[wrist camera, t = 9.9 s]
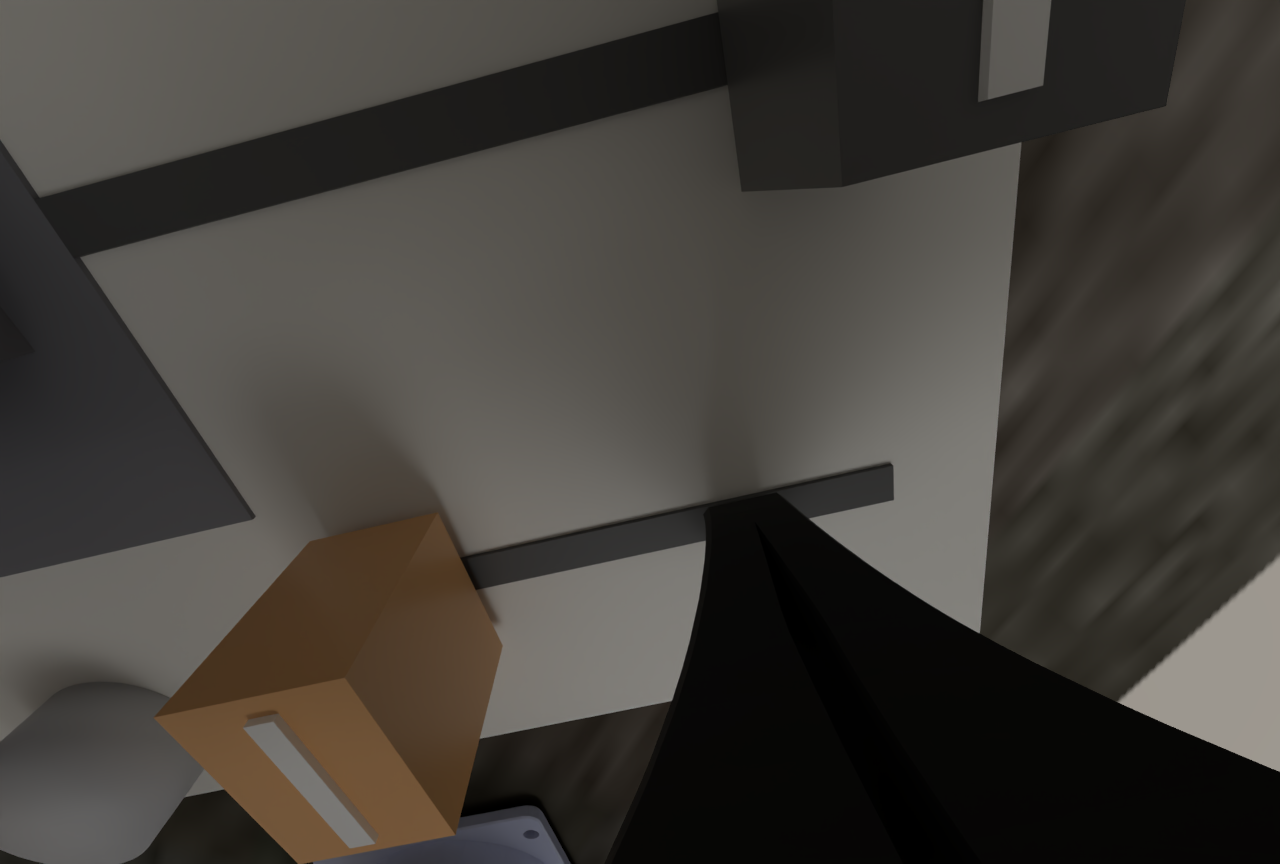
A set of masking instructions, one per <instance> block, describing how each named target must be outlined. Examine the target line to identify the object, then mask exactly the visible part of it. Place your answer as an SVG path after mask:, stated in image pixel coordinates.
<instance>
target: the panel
mask: <svg viewBox="0 0 1280 864" xmlns="http://www.w3.org/2000/svg"><path fill="white" fill-rule="evenodd" d="M1020 153H1021V142H1020V143H1016V144H1012V145H1008V146H1004V147H1000V148H996V149H992V150H988V151H984V152H980V153H976V154H972V155H968V156H964V157H960V158H956V159H952V160H948V161H944V162H940V163H937V164H933V165H929V166H925V167H921V168H917V169H913V170H909V171H905V172H901V173H897V174H893V175H889V176H885V177H881V178H877V179H873V180H869V181H865V182H861V183H857V184H853V185H849V186H845V187H836V188H814V189H791V190H769V191H747V192H742V191H741V184H740V176H739V168H738V160H737V153H736V145H735V137H734V130H733V122H732V114H731V106H730V99H729V91H728V83H727V75H726V68H725V60H724V52H723V45H722V37H721V29H720V21H719V14H718V6H717V0H0V850H2V851H5V852H7V853H10V854H13V855H15V856H18V857H21V858H25V859H28V860H32V861H36V862H40V863H45V864H121V863H124V862H127V861H130V860H132V859H134V858H136V857H138V856H139V855H141V854H142V853H143V852H144V851H145V850H146V849H147V848H148V847H149V846H150V844H151V843H152V841H153V840H154V839H155V837H156V836H157V834H158V833H159V832H160V830H161V829H162V828H163V826H164V825H165V823H166V822H167V821H168V819H169V818H170V816H171V815H172V814H173V812H174V811H175V809H176V808H177V807H178V805H179V804H180V802H181V801H182V800H183V798H184V797H188V796H193V795H198V794H203V793H208V792H213V791H218V790H223V789H224V788H223V787H222V786H221V785H220V784H219V783H218V782H217V781H216V780H215V779H214V778H213V777H212V776H211V775H210V774H209V773H208V772H207V771H206V770H205V769H204V768H203V767H202V766H201V765H200V764H199V763H198V762H197V761H196V760H195V759H194V758H193V757H192V756H191V755H190V754H189V753H188V752H187V751H186V750H185V749H184V748H183V747H182V746H181V745H180V744H179V743H178V742H177V741H176V740H175V739H174V738H173V737H172V736H171V735H170V734H169V733H168V732H167V731H166V730H165V729H164V728H163V727H162V726H161V725H160V724H159V723H158V722H157V721H156V720H155V719H154V718H153V717H154V716H155V715H156V714H157V713H158V712H159V711H160V710H161V708H162V707H163V706H164V705H165V704H166V703H167V702H168V701H169V699H170V698H171V697H172V696H173V695H174V694H175V693H176V692H177V690H178V689H179V688H180V687H181V686H182V685H183V684H184V682H185V681H186V680H187V679H188V678H189V677H190V676H191V675H192V673H193V672H194V671H195V670H196V669H197V668H198V667H199V666H200V664H201V663H202V662H203V661H204V660H205V659H206V658H207V657H208V655H209V654H210V653H211V652H212V651H213V650H214V649H215V648H216V646H217V645H218V644H219V643H220V642H221V641H222V640H223V639H224V637H225V636H226V635H227V634H228V633H229V632H230V631H231V630H232V628H233V627H234V626H235V625H236V624H237V623H238V622H239V620H240V619H241V618H242V617H243V616H244V615H245V614H246V613H247V611H248V610H249V609H250V608H251V607H252V606H253V605H254V604H255V602H256V601H257V600H258V599H259V598H260V597H261V596H262V595H263V593H264V592H265V591H266V590H267V589H268V588H269V587H270V586H271V584H272V583H273V582H274V581H275V580H276V579H277V578H278V577H279V575H280V574H281V573H282V572H283V571H284V570H285V569H286V568H287V566H288V565H289V564H290V563H291V562H292V561H293V560H294V559H295V557H296V556H297V555H298V554H299V553H300V552H301V551H302V549H303V548H304V547H305V546H306V545H307V544H308V543H309V542H310V541H313V540H317V539H322V538H326V537H330V536H335V535H339V534H344V533H348V532H353V531H357V530H362V529H366V528H370V527H375V526H379V525H384V524H388V523H393V522H397V521H401V520H406V519H410V518H415V517H419V516H424V515H428V514H433V513H437V512H438V514H439V516H440V518H441V520H442V522H443V524H444V526H445V528H446V530H447V532H448V534H449V536H450V538H451V540H452V542H453V545H454V547H455V549H456V551H457V553H458V555H459V557H460V559H461V561H462V563H463V565H464V567H465V569H466V571H467V573H468V575H469V577H470V579H471V581H472V584H473V586H474V588H475V590H476V592H477V594H478V596H479V598H480V600H481V602H482V604H483V606H484V608H485V610H486V612H487V614H488V616H489V618H490V620H491V623H492V625H493V627H494V629H495V631H496V633H497V635H498V637H499V639H500V641H501V643H502V645H503V647H502V651H501V655H500V659H499V663H498V667H497V671H496V675H495V679H494V683H493V687H492V691H491V695H490V699H489V703H488V707H487V711H486V715H485V719H484V723H483V727H482V731H481V735H480V739H481V738H486V737H491V736H496V735H501V734H506V733H511V732H516V731H521V730H527V729H532V728H537V727H542V726H547V725H552V724H557V723H562V722H567V721H572V720H577V719H582V718H587V717H592V716H597V715H602V714H607V713H612V712H618V711H623V710H628V709H633V708H638V707H643V706H648V705H653V704H658V703H663V702H668V701H672V699H673V696H674V693H675V690H676V686H677V683H678V680H679V677H680V674H681V670H682V667H683V663H684V660H685V656H686V652H687V649H688V645H689V641H690V637H691V632H692V628H693V623H694V619H695V614H696V610H697V605H698V601H699V595H700V589H701V582H702V575H703V567H704V560H705V545H706V528H705V520H704V515H703V514H704V512H705V511H706V510H707V509H708V507H712V506H717V505H721V504H726V503H731V502H735V501H740V500H744V499H749V498H753V497H758V496H762V495H767V494H771V493H778V494H780V495H781V496H783V497H784V498H785V499H786V500H787V501H789V502H790V503H791V504H792V505H793V506H794V507H796V508H797V509H798V510H799V511H800V512H802V513H803V514H804V515H805V516H806V517H808V518H809V519H810V520H811V521H812V522H814V523H815V524H816V525H817V526H819V527H820V528H821V529H822V530H824V531H825V532H826V533H827V534H829V535H830V536H831V537H833V538H834V539H835V540H837V541H838V542H839V543H840V544H842V545H843V546H845V547H846V548H847V549H849V550H850V551H851V552H853V553H854V554H856V555H857V556H858V557H860V558H861V559H862V560H864V561H865V562H866V563H868V564H869V565H871V566H872V567H873V568H875V569H876V570H878V571H879V572H881V573H882V574H884V575H885V576H887V577H888V578H889V579H891V580H892V581H894V582H896V583H897V584H899V585H900V586H902V587H903V588H905V589H906V590H908V591H909V592H911V593H912V594H914V595H915V596H917V597H919V598H920V599H922V600H923V601H925V602H927V603H928V604H930V605H931V606H933V607H935V608H936V609H938V610H940V611H941V612H943V613H945V614H946V615H948V616H950V617H951V618H953V619H955V620H956V621H958V622H960V623H962V624H963V625H965V626H967V627H969V628H971V629H972V630H974V631H976V632H978V633H980V624H981V612H982V600H983V589H984V577H985V565H986V553H987V541H988V530H989V518H990V506H991V494H992V483H993V471H994V459H995V447H996V435H997V424H998V412H999V400H1000V388H1001V377H1002V365H1003V353H1004V341H1005V329H1006V318H1007V306H1008V294H1009V282H1010V271H1011V259H1012V247H1013V235H1014V223H1015V212H1016V200H1017V188H1018V176H1019V165H1020Z"/></svg>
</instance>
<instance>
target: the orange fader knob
mask: <svg viewBox="0 0 1280 864" xmlns="http://www.w3.org/2000/svg"><path fill="white" fill-rule="evenodd" d="M502 647H503V645H502V643H501V641H500V639H499V637H498V635H497V633H496V631H495V629H494V627H493V625H492V623H491V620H490V618H489V616H488V614H487V612H486V610H485V608H484V606H483V604H482V602H481V600H480V598H479V596H478V594H477V592H476V590H475V588H474V586H473V584H472V581H471V579H470V577H469V575H468V573H467V571H466V569H465V567H464V565H463V563H462V561H461V559H460V557H459V555H458V553H457V551H456V549H455V547H454V545H453V542H452V540H451V538H450V536H449V534H448V532H447V530H446V528H445V526H444V524H443V522H442V520H441V518H440V516H439V514H438V512H437V513H433V514H428V515H424V516H419V517H415V518H410V519H406V520H401V521H397V522H393V523H388V524H384V525H379V526H375V527H370V528H366V529H362V530H357V531H353V532H348V533H344V534H339V535H335V536H330V537H326V538H322V539H317V540H313V541H310V542H309V543H308V544H307V545H306V546H305V547H304V548H303V549H302V551H301V552H300V553H299V554H298V555H297V556H296V557H295V559H294V560H293V561H292V562H291V563H290V564H289V565H288V566H287V568H286V569H285V570H284V571H283V572H282V573H281V574H280V575H279V577H278V578H277V579H276V580H275V581H274V582H273V583H272V584H271V586H270V587H269V588H268V589H267V590H266V591H265V592H264V593H263V595H262V596H261V597H260V598H259V599H258V600H257V601H256V602H255V604H254V605H253V606H252V607H251V608H250V609H249V610H248V611H247V613H246V614H245V615H244V616H243V617H242V618H241V619H240V620H239V622H238V623H237V624H236V625H235V626H234V627H233V628H232V630H231V631H230V632H229V633H228V634H227V635H226V636H225V637H224V639H223V640H222V641H221V642H220V643H219V644H218V645H217V646H216V648H215V649H214V650H213V651H212V652H211V653H210V654H209V655H208V657H207V658H206V659H205V660H204V661H203V662H202V663H201V664H200V666H199V667H198V668H197V669H196V670H195V671H194V672H193V673H192V675H191V676H190V677H189V678H188V679H187V680H186V681H185V682H184V684H183V685H182V686H181V687H180V688H179V689H178V690H177V692H176V693H175V694H174V695H173V696H172V697H171V698H170V699H169V701H168V702H167V703H166V704H165V705H164V706H163V707H162V708H161V710H160V711H159V712H158V713H157V714H156V715H155V716H154V717H153V718H154V719H155V720H156V721H157V722H158V723H159V724H160V725H161V726H162V727H163V728H164V729H165V730H166V731H167V732H168V733H169V734H170V735H171V736H172V737H173V738H174V739H175V740H176V741H177V742H178V743H179V744H180V745H181V746H182V747H183V748H184V749H185V750H186V751H187V752H188V753H189V754H190V755H191V756H192V757H193V758H194V759H195V760H196V761H197V762H198V763H199V764H200V765H201V766H202V767H203V768H204V769H205V770H206V771H207V772H208V773H209V774H210V775H211V776H212V777H213V778H214V779H215V780H216V781H217V782H218V783H219V784H220V785H221V786H222V787H223V788H224V789H225V790H226V791H227V792H228V793H229V794H230V795H231V796H232V797H233V798H234V799H235V800H236V801H237V802H238V804H239V805H240V806H241V807H242V808H243V809H244V810H245V811H246V812H247V813H248V814H249V815H250V816H251V817H252V818H253V819H254V820H255V821H256V822H257V823H258V824H259V825H260V826H261V827H262V828H263V829H264V830H265V831H266V832H267V833H268V834H269V835H270V836H271V837H272V838H273V839H274V840H275V841H276V842H277V843H278V844H279V845H280V846H281V847H282V848H283V849H284V850H285V851H286V852H287V853H288V854H289V855H290V856H291V857H292V858H293V859H294V860H295V861H296V862H297V863H298V864H304V863H310V862H315V861H320V860H326V859H331V858H336V857H342V856H347V855H352V854H358V853H363V852H368V851H374V850H379V849H384V848H390V847H395V846H400V845H406V844H411V843H416V842H422V841H427V840H432V839H438V838H443V837H448V836H454V835H456V831H457V827H458V823H459V819H460V815H461V811H462V807H463V803H464V799H465V795H466V791H467V787H468V783H469V779H470V775H471V771H472V767H473V763H474V759H475V755H476V751H477V747H478V743H479V739H480V735H481V731H482V727H483V723H484V719H485V715H486V711H487V707H488V703H489V699H490V695H491V691H492V687H493V683H494V679H495V675H496V671H497V667H498V663H499V659H500V655H501V651H502Z"/></svg>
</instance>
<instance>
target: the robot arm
mask: <svg viewBox="0 0 1280 864" xmlns="http://www.w3.org/2000/svg"><path fill="white" fill-rule="evenodd" d="M703 515H704V520H705V528H706V545H705V560H704V567H703V575H702V582H701V589H700V595H699V601H698V605H697V610H696V614H695V619H694V623H693V628H692V632H691V637H690V641H689V645H688V649H687V652H686V656H685V660H684V663H683V667H682V670H681V674H680V677H679V680H678V683H677V686H676V690H675V693H674V696H673V699H672V702H671V705H670V708H669V711H668V713H667V716H666V719H665V722H664V724H663V727H662V730H661V733H660V735H659V738H658V741H657V744H656V746H655V749H654V752H653V754H652V757H651V759H650V762H649V764H648V767H647V769H646V772H645V774H644V777H643V779H642V781H641V784H640V786H639V788H638V791H637V793H636V795H635V797H634V800H633V802H632V804H631V806H630V808H629V811H628V813H627V815H626V817H625V820H624V822H623V824H622V826H621V828H620V831H619V833H618V835H617V837H616V839H615V842H614V844H613V846H612V848H611V851H610V853H609V855H608V857H607V859H606V862H605V864H1280V772H1279V771H1276V770H1274V769H1271V768H1269V767H1266V766H1264V765H1262V764H1259V763H1257V762H1254V761H1252V760H1250V759H1247V758H1245V757H1242V756H1240V755H1238V754H1235V753H1233V752H1231V751H1228V750H1226V749H1224V748H1221V747H1218V746H1216V745H1214V744H1212V743H1209V742H1207V741H1205V740H1202V739H1200V738H1197V737H1195V736H1193V735H1190V734H1188V733H1186V732H1183V731H1181V730H1179V729H1176V728H1174V727H1171V726H1169V725H1167V724H1164V723H1162V722H1160V721H1158V720H1155V719H1153V718H1151V717H1149V716H1147V715H1144V714H1142V713H1140V712H1138V711H1135V710H1133V709H1131V708H1129V707H1126V706H1124V705H1122V704H1120V703H1118V702H1116V701H1113V700H1111V699H1109V698H1107V697H1105V696H1103V695H1101V694H1099V693H1097V692H1095V691H1093V690H1090V689H1088V688H1086V687H1084V686H1082V685H1080V684H1078V683H1076V682H1074V681H1072V680H1070V679H1068V678H1065V677H1063V676H1061V675H1059V674H1057V673H1055V672H1053V671H1051V670H1049V669H1047V668H1045V667H1042V666H1040V665H1038V664H1036V663H1034V662H1032V661H1030V660H1028V659H1026V658H1024V657H1022V656H1021V655H1019V654H1017V653H1015V652H1013V651H1011V650H1009V649H1007V648H1005V647H1003V646H1001V645H999V644H997V643H996V642H994V641H992V640H990V639H988V638H987V637H985V636H983V635H981V634H980V633H978V632H976V631H974V630H972V629H971V628H969V627H967V626H965V625H963V624H962V623H960V622H958V621H956V620H955V619H953V618H951V617H950V616H948V615H946V614H945V613H943V612H941V611H940V610H938V609H936V608H935V607H933V606H931V605H930V604H928V603H927V602H925V601H923V600H922V599H920V598H919V597H917V596H915V595H914V594H912V593H911V592H909V591H908V590H906V589H905V588H903V587H902V586H900V585H899V584H897V583H896V582H894V581H892V580H891V579H889V578H888V577H887V576H885V575H884V574H882V573H881V572H879V571H878V570H876V569H875V568H873V567H872V566H871V565H869V564H868V563H866V562H865V561H864V560H862V559H861V558H860V557H858V556H857V555H856V554H854V553H853V552H851V551H850V550H849V549H847V548H846V547H845V546H843V545H842V544H840V543H839V542H838V541H837V540H835V539H834V538H833V537H831V536H830V535H829V534H827V533H826V532H825V531H824V530H822V529H821V528H820V527H819V526H817V525H816V524H815V523H814V522H812V521H811V520H810V519H809V518H808V517H806V516H805V515H804V514H803V513H802V512H800V511H799V510H798V509H797V508H796V507H794V506H793V505H792V504H791V503H790V502H789V501H787V500H786V499H785V498H784V497H783V496H781V495H780V494H778V493H771V494H767V495H762V496H758V497H753V498H749V499H744V500H740V501H735V502H731V503H726V504H721V505H717V506H712V507H708V509H707V510H706V511H705V512H704V514H703ZM313 863H314V864H571V863H570V861H569V860H568V858H567V856H566V854H565V852H564V850H563V849H562V847H561V845H560V843H559V841H558V839H557V838H556V836H555V834H554V832H553V830H552V829H551V827H550V825H549V823H548V821H547V819H546V818H545V816H544V814H543V812H542V811H541V810H540V809H539V808H538V807H536V806H532V805H523V806H518V807H513V808H508V809H502V810H497V811H492V812H486V813H481V814H476V815H471V816H465V817H460V819H459V823H458V827H457V831H456V835H454V836H448V837H443V838H438V839H432V840H427V841H422V842H416V843H411V844H406V845H400V846H395V847H390V848H384V849H379V850H374V851H368V852H363V853H358V854H352V855H347V856H342V857H336V858H331V859H326V860H320V861H315V862H313Z"/></svg>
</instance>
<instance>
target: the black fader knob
mask: <svg viewBox="0 0 1280 864" xmlns="http://www.w3.org/2000/svg"><path fill="white" fill-rule="evenodd" d="M1185 2H1186V0H717V6H718V14H719V21H720V29H721V37H722V45H723V52H724V60H725V68H726V75H727V83H728V91H729V99H730V106H731V114H732V122H733V130H734V137H735V145H736V153H737V160H738V168H739V176H740V184H741V191H742V192H747V191H769V190H791V189H814V188H836V187H845V186H849V185H853V184H857V183H861V182H865V181H869V180H873V179H877V178H881V177H885V176H889V175H893V174H897V173H901V172H905V171H909V170H913V169H917V168H921V167H925V166H929V165H933V164H937V163H940V162H944V161H948V160H952V159H956V158H960V157H964V156H968V155H972V154H976V153H980V152H984V151H988V150H992V149H996V148H1000V147H1004V146H1008V145H1012V144H1016V143H1020V142H1024V141H1028V140H1032V139H1036V138H1040V137H1044V136H1048V135H1052V134H1056V133H1060V132H1064V131H1068V130H1072V129H1076V128H1080V127H1084V126H1088V125H1092V124H1096V123H1100V122H1104V121H1108V120H1112V119H1116V118H1120V117H1124V116H1128V115H1132V114H1136V113H1140V112H1144V111H1148V110H1152V109H1156V108H1160V107H1164V106H1166V103H1167V97H1168V92H1169V87H1170V81H1171V76H1172V71H1173V66H1174V60H1175V55H1176V50H1177V44H1178V39H1179V34H1180V28H1181V23H1182V18H1183V12H1184V7H1185Z"/></svg>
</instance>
